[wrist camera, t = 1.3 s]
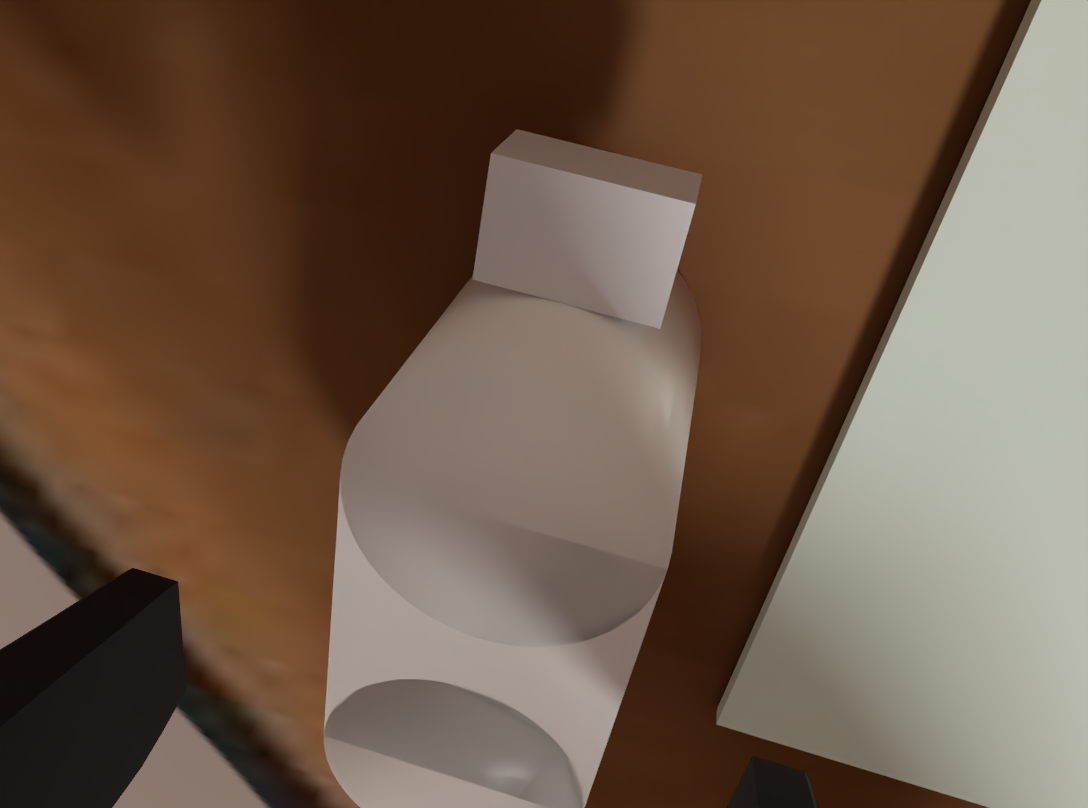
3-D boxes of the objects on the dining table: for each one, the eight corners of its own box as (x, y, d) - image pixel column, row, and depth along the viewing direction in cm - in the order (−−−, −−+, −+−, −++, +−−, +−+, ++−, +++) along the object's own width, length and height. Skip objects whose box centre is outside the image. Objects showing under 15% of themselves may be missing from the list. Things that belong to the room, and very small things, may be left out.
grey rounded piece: (605, 655, 18) (555, 890, 14) (422, 600, 18) (319, 812, 14) (766, 151, 12) (765, 287, 8) (495, 86, 13) (359, 182, 8)
